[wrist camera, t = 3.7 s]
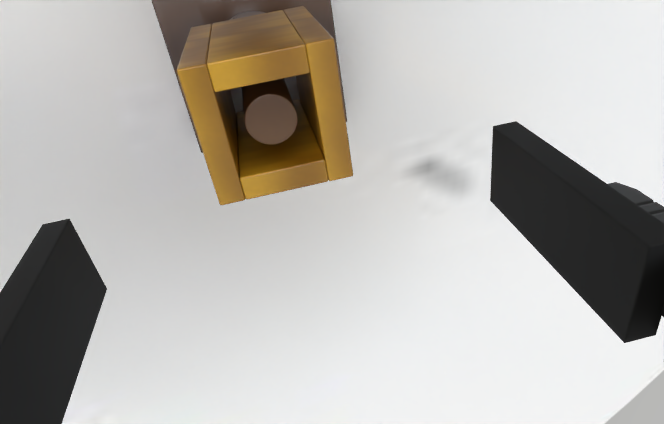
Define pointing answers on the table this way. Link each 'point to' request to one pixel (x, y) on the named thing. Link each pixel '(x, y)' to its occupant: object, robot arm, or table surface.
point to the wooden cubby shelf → (257, 67)
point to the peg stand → (254, 100)
